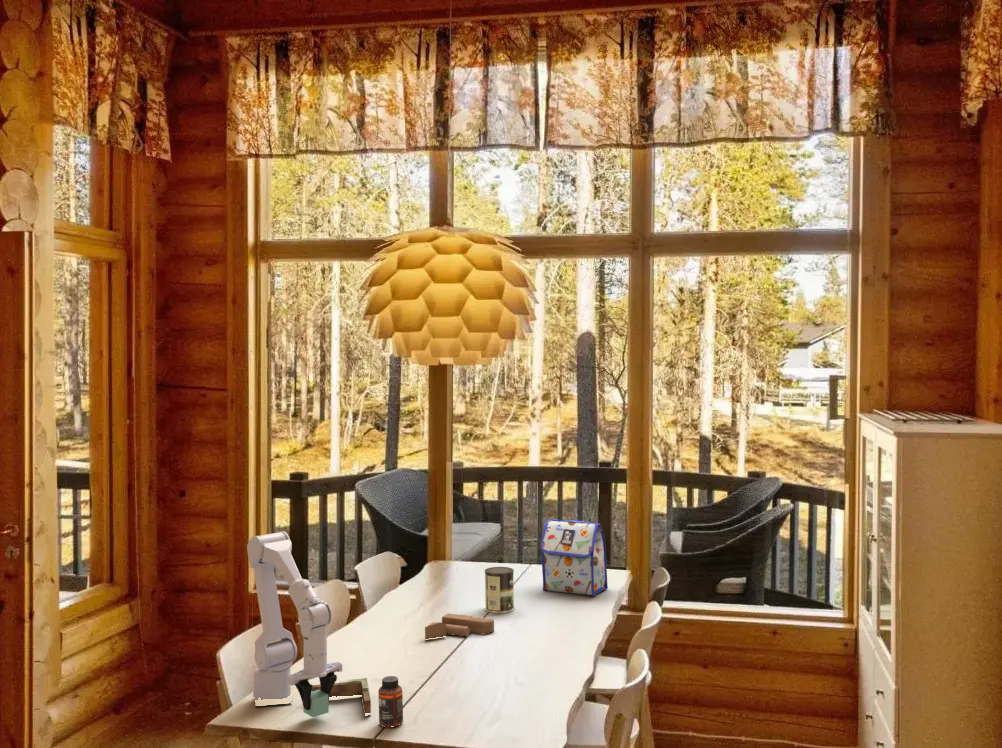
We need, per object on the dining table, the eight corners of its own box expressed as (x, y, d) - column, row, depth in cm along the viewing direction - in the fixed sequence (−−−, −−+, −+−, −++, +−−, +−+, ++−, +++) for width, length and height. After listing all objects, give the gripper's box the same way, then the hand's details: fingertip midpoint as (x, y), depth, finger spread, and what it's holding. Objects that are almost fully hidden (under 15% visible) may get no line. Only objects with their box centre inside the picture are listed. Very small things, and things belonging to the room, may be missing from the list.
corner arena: (312, 721, 226) (311, 703, 225) (311, 700, 239) (311, 683, 239) (370, 715, 229) (370, 697, 229) (366, 695, 242) (366, 678, 242)
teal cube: (312, 717, 224) (312, 699, 223) (303, 711, 227) (303, 694, 227) (328, 712, 227) (328, 694, 226) (319, 707, 230) (319, 689, 230)
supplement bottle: (404, 718, 227) (403, 673, 227) (402, 728, 221) (401, 682, 221) (380, 719, 227) (379, 674, 226) (377, 729, 221) (377, 683, 220)
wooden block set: (445, 609, 303) (494, 615, 296) (445, 626, 303) (494, 632, 296) (421, 624, 287) (473, 630, 281) (422, 641, 288) (473, 648, 281)
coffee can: (514, 605, 326) (513, 566, 325) (513, 613, 316) (513, 573, 315) (485, 605, 326) (485, 566, 326) (484, 613, 316) (484, 573, 315)
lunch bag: (537, 592, 343) (536, 522, 342) (555, 582, 357) (554, 514, 357) (593, 599, 332) (592, 527, 331) (609, 588, 347) (609, 519, 346)
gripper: (297, 663, 218) (298, 719, 219) (348, 649, 228) (349, 702, 229) (283, 656, 224) (283, 710, 224) (333, 642, 233) (334, 694, 234)
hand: (315, 706), depth 227 cm, fingers closed on teal cube, 4 cm apart
